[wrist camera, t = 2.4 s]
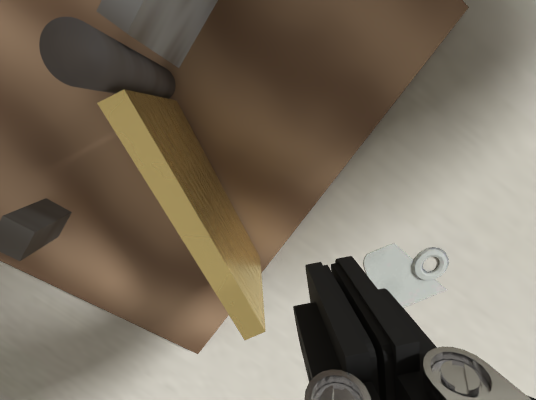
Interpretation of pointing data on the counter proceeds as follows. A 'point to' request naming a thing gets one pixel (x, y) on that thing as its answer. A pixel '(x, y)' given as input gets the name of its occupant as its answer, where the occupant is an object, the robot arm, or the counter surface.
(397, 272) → the mounting bracket
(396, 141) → the counter surface
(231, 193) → the hinge base
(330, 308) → the robot arm
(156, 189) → the bar
